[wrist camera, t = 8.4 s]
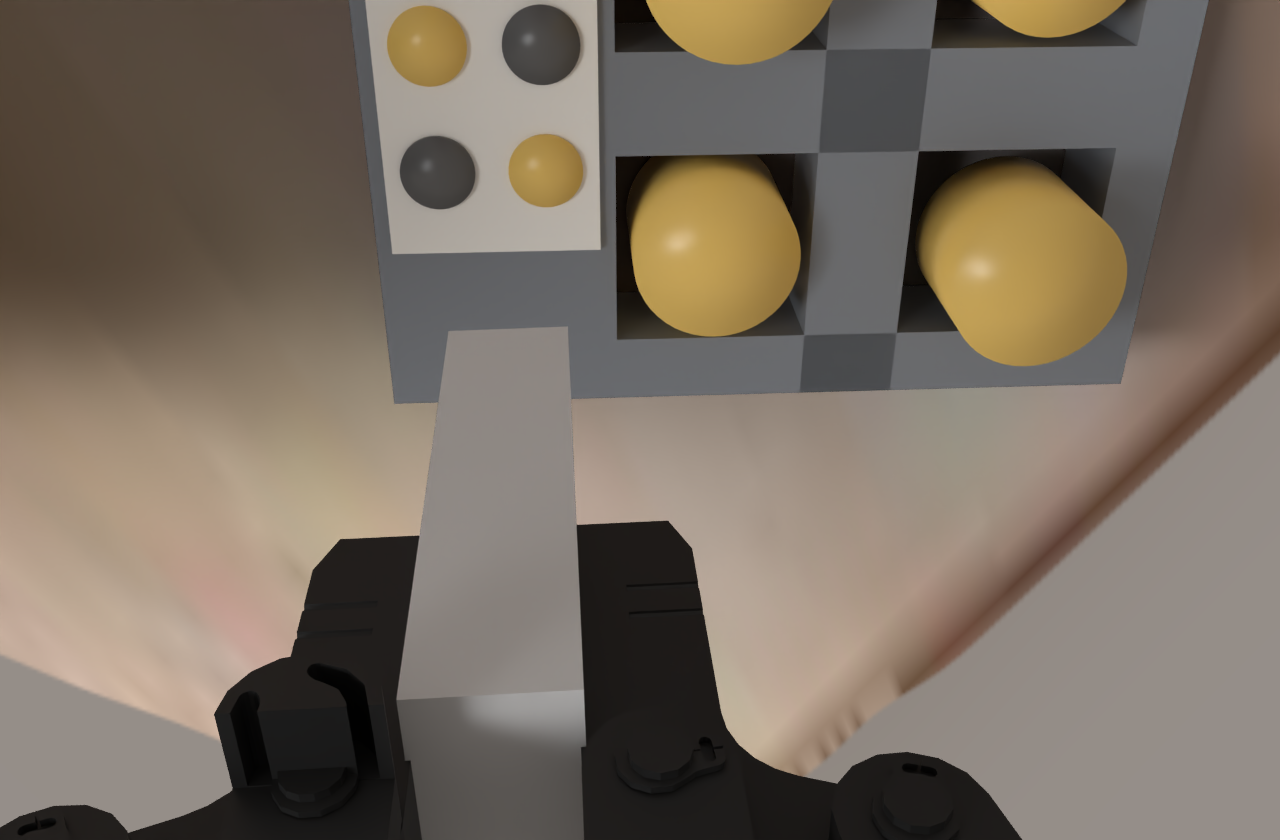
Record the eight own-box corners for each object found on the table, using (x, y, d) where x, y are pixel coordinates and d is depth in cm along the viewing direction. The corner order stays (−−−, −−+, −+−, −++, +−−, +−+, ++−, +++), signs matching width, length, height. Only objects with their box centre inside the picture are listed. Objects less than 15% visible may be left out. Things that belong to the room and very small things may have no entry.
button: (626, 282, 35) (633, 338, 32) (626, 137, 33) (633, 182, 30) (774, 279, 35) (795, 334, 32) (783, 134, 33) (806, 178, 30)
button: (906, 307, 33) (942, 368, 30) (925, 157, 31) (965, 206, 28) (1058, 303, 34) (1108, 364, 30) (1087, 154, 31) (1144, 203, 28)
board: (405, 352, 36) (393, 409, 33) (338, -283, 27) (313, -282, 25) (1080, 335, 37) (1125, 389, 34) (1207, -281, 29) (1281, -279, 26)
